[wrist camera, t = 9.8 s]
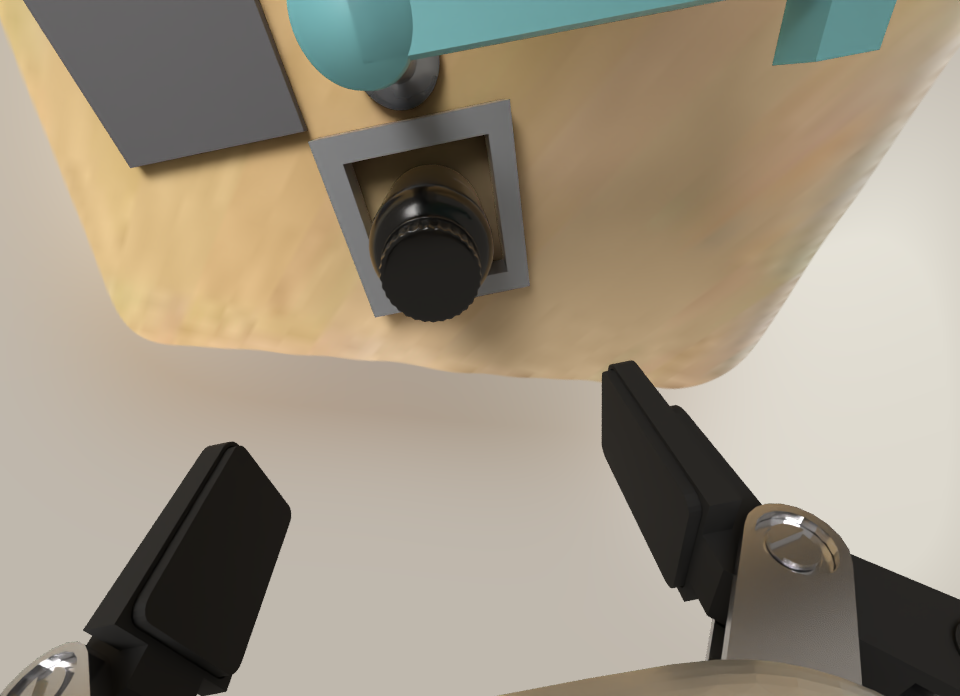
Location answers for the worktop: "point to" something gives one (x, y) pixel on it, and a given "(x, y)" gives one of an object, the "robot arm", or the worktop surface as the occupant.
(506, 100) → the bottle holder
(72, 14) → the rubber mat
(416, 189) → the supplement bottle
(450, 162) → the worktop surface
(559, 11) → the latch bar
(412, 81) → the latch post
